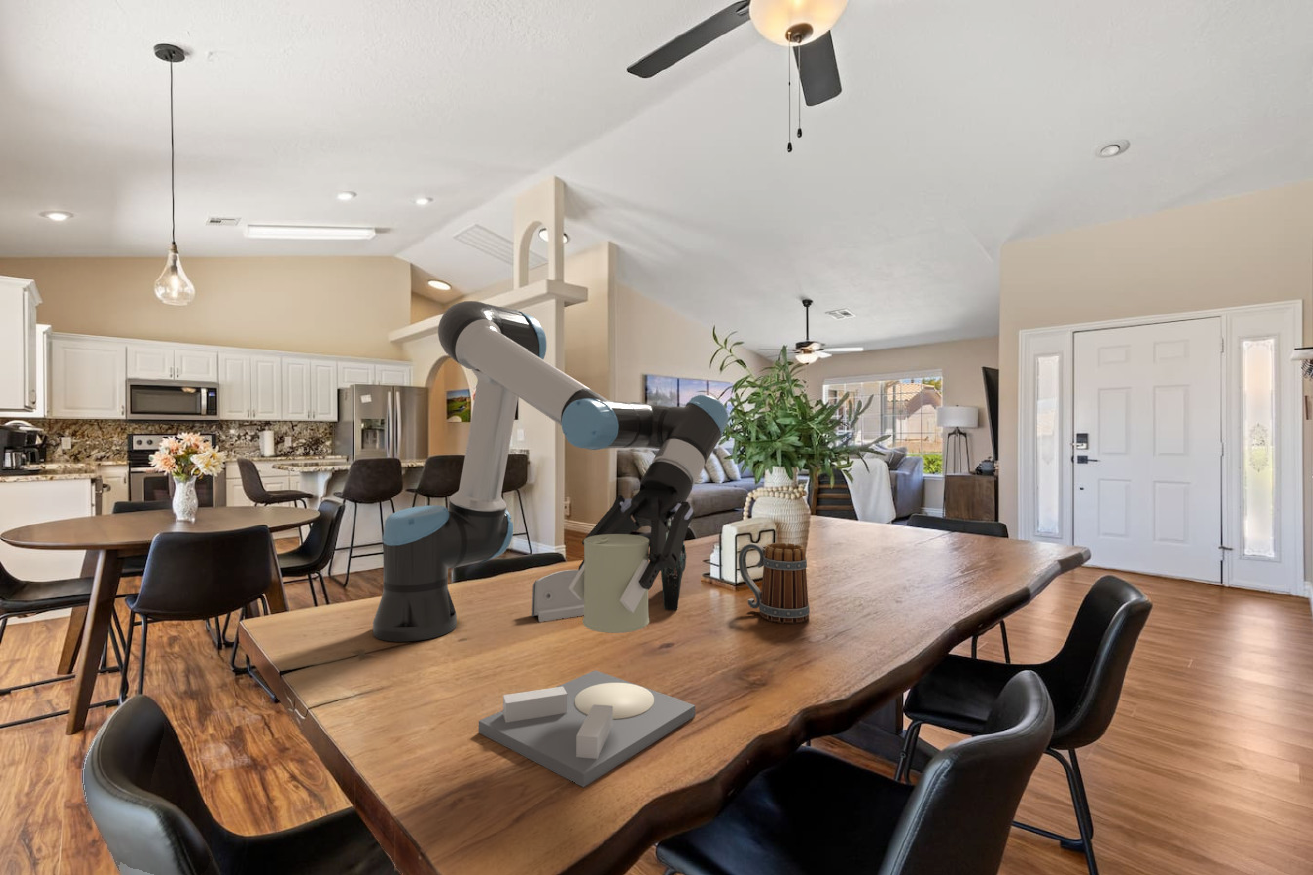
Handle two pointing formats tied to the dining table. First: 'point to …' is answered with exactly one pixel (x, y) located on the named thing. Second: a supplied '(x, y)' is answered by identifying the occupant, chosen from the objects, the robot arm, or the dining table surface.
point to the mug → (779, 582)
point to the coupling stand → (585, 724)
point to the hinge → (556, 597)
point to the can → (613, 582)
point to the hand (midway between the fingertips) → (600, 599)
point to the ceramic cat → (673, 579)
